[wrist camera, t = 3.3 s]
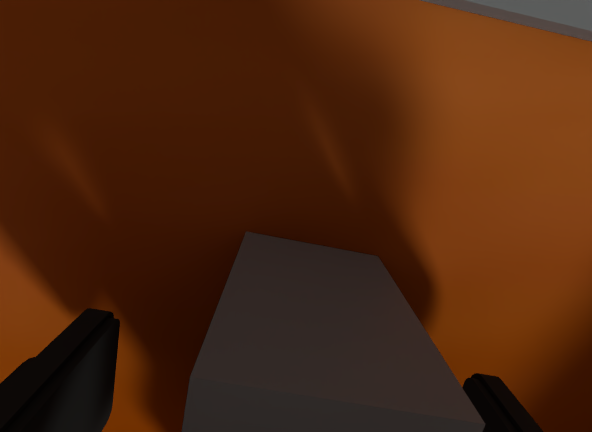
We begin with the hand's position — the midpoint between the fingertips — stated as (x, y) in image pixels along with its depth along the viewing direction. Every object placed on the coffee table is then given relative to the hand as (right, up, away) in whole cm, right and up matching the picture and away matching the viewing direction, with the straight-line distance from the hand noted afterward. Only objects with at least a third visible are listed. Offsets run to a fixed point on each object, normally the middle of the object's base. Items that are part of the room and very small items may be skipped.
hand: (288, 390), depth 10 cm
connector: (0, -1, +2) cm, 2 cm away
